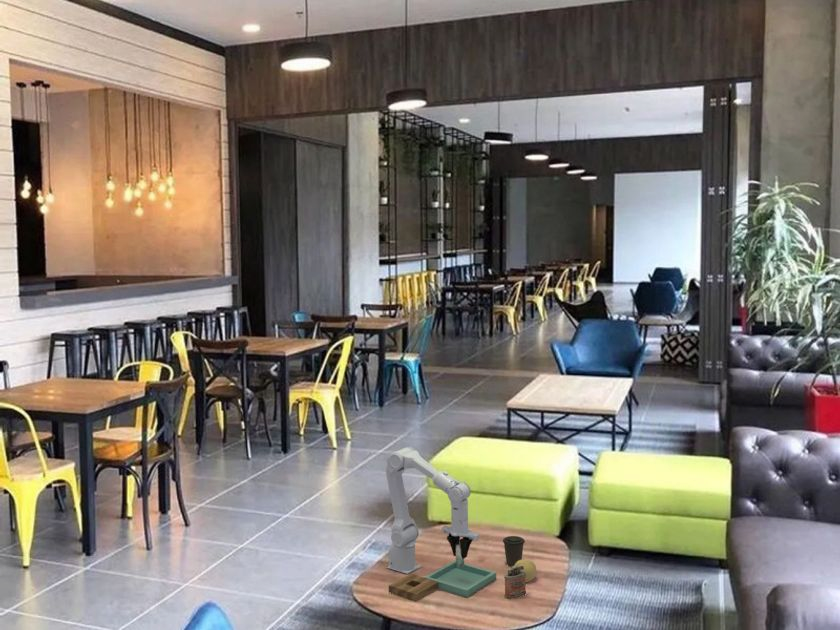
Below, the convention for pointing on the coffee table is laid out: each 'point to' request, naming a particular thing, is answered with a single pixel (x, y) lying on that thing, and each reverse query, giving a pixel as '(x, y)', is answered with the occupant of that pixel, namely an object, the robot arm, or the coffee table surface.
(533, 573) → the apple
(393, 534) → the robot arm
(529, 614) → the coffee table surface
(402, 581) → the pin block
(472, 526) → the coffee table surface
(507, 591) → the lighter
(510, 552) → the coffee cup
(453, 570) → the tray
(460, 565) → the pin
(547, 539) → the coffee table surface
